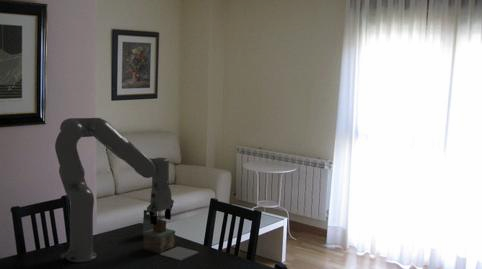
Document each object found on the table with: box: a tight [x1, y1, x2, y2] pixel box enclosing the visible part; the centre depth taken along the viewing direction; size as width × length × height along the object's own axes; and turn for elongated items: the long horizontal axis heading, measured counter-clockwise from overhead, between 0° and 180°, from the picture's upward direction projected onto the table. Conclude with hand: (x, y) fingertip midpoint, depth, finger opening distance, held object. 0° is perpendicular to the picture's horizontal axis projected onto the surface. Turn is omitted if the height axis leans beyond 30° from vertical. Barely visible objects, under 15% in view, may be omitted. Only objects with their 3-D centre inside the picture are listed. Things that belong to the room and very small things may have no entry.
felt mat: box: [159, 246, 200, 262], centre depth 249 cm, size 13×12×1 cm
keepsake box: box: [143, 233, 176, 255], centre depth 255 cm, size 10×10×7 cm
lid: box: [144, 218, 176, 239], centre depth 254 cm, size 10×10×7 cm
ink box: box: [142, 209, 160, 237], centre depth 273 cm, size 7×4×13 cm, turn 84°
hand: (160, 221), depth 254 cm, fingers open, 9 cm apart
